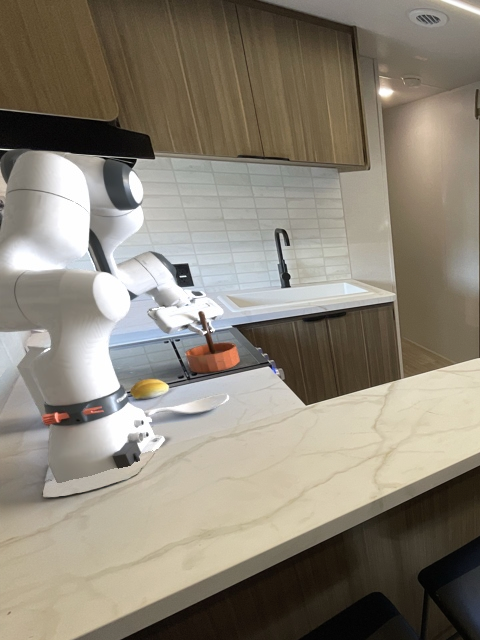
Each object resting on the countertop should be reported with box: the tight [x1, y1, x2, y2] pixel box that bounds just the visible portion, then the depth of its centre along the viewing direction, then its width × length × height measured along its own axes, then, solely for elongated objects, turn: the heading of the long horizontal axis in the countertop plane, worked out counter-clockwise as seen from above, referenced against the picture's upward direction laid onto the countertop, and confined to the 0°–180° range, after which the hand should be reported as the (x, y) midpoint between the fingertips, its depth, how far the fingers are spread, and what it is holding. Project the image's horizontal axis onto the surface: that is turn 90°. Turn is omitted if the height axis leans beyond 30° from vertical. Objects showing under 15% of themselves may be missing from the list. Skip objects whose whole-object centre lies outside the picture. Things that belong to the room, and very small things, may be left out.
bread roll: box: [129, 378, 170, 401], centre depth 115 cm, size 8×9×4 cm
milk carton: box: [16, 345, 50, 417], centre depth 99 cm, size 7×7×19 cm
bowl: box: [184, 342, 241, 374], centre depth 135 cm, size 14×14×6 cm
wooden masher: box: [198, 311, 223, 355], centre depth 133 cm, size 6×6×17 cm
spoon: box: [142, 393, 230, 417], centre depth 100 cm, size 9×32×4 cm, turn 130°
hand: (208, 333), depth 133 cm, fingers closed on wooden masher
